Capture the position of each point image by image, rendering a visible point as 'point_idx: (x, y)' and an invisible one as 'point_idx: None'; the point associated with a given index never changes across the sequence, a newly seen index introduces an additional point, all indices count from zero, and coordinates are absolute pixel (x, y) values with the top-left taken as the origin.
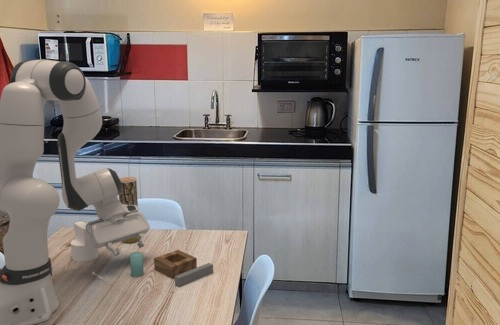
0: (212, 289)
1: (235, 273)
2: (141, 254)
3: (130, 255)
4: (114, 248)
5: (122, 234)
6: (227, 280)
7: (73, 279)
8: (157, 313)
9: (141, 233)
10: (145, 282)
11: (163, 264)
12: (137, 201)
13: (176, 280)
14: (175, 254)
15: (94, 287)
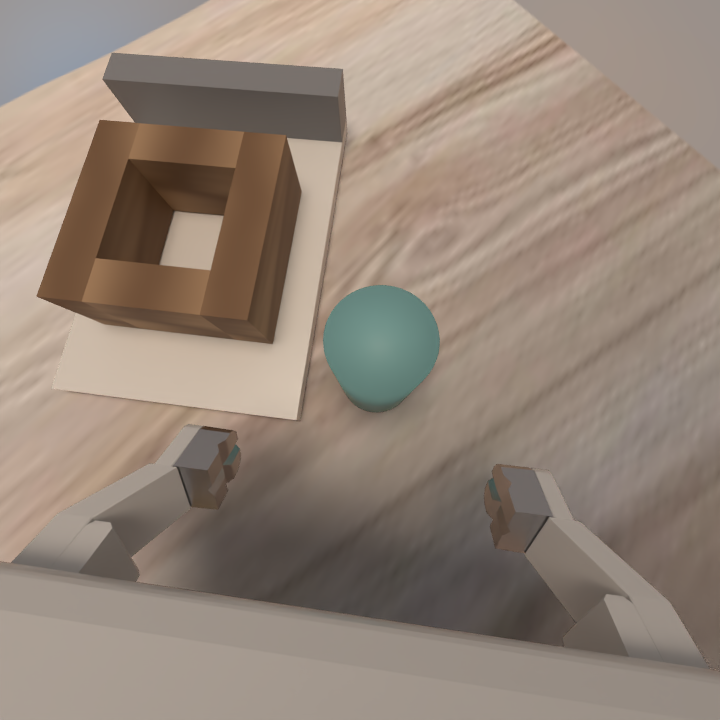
0: (259, 48)
1: (86, 67)
2: (351, 302)
3: (430, 362)
4: (563, 526)
5: (388, 683)
6: (160, 53)
7: None
8: (531, 70)
9: (42, 549)
10: None
11: (272, 222)
12: None
13: (341, 103)
14: (111, 262)
15: (614, 470)
